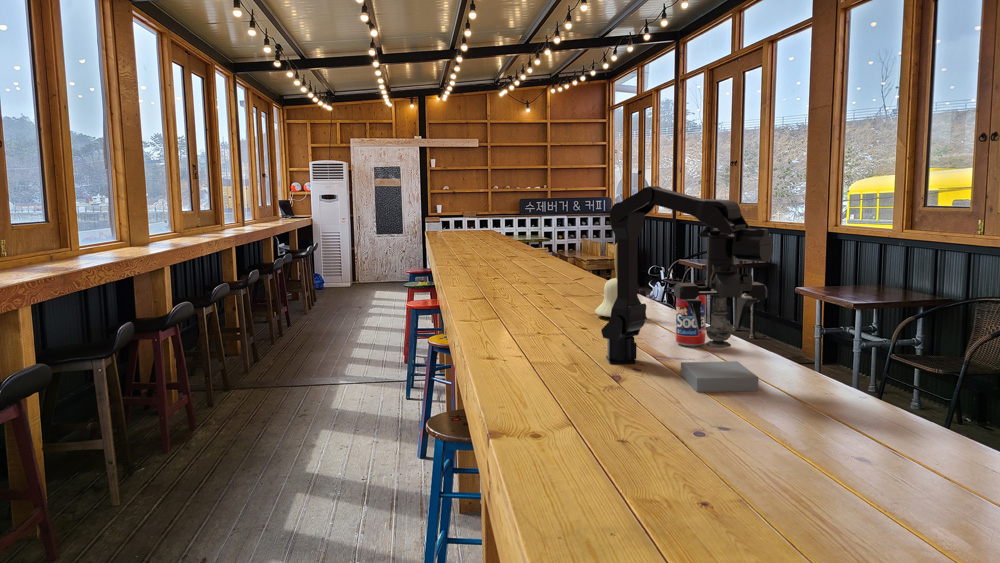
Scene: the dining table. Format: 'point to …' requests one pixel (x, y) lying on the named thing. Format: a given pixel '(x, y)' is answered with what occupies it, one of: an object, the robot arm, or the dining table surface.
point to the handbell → (609, 293)
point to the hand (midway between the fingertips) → (718, 329)
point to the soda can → (690, 324)
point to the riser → (719, 376)
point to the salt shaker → (719, 325)
